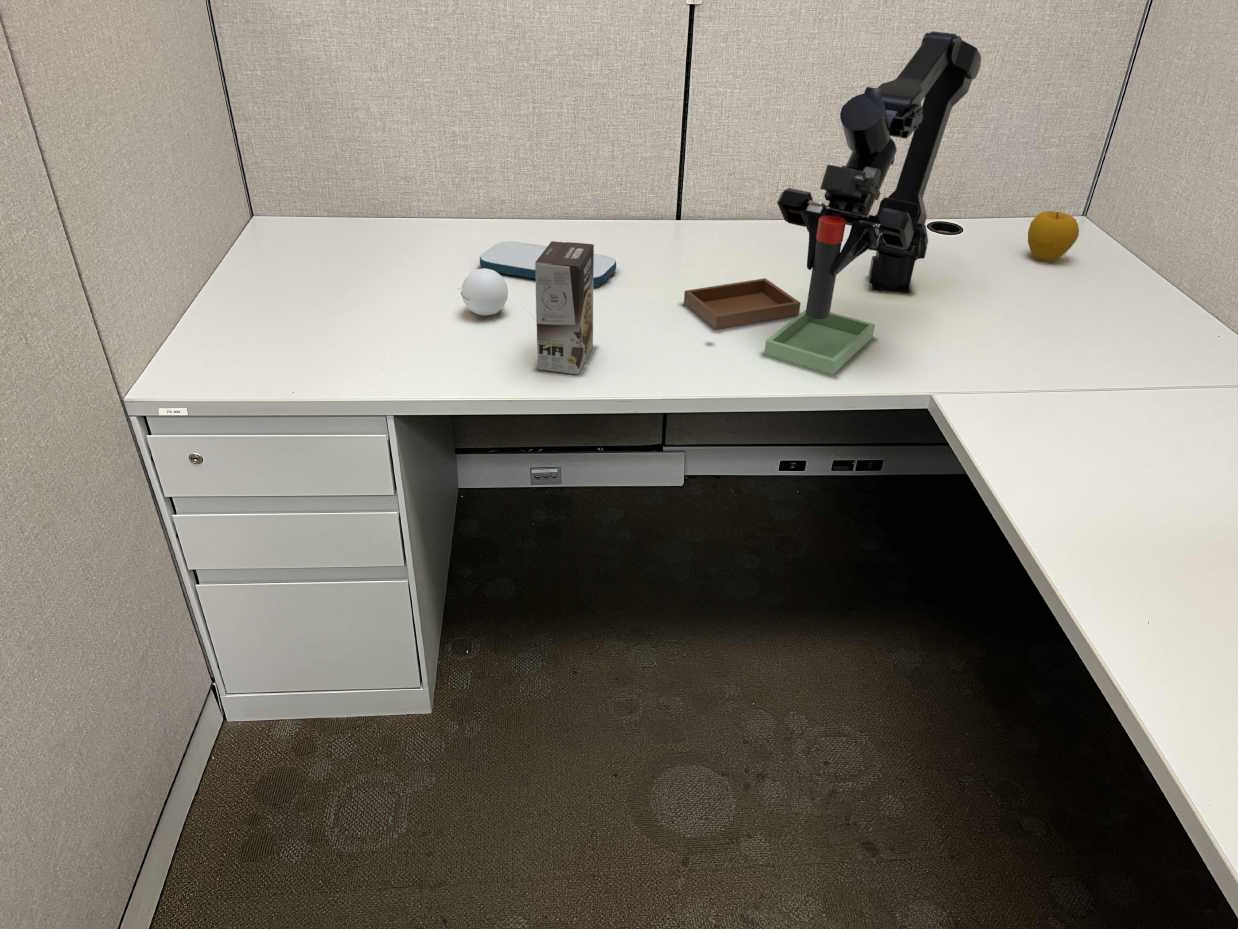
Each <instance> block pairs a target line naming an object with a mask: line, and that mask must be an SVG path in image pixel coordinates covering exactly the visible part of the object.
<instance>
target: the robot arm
mask: <svg viewBox="0 0 1238 929" xmlns="http://www.w3.org/2000/svg"><path fill="white" fill-rule="evenodd" d="M981 63H982V55H981V53H980V51H979V49H978V48H977V47H976V46H974V45H972V44H970V43H968V42H967V41H964V40H963V39H962V37H961V36H960V35H957V33H954V32H953V33H951V32H943V31H942V32H941V31H935V30H934V31H933V30H932V31H930V32H925V34H924V35H923V37H922V40H921V43H920V46H919V48H918V49H917V50H916V51H915V53H914V55H912V57H911V58H910V60H908V62H907V63H906V64H905V66H904V67H903V69H902V70H901V71H900V73H899V74H898V76H896V78H895V79H893V80H890V81H887V82H882V83H881V84H880V85H879V86H877V87H871V86H867V87H866V88H865V90H864V93H860V94H857V95H855V96H854V97H851V98H850V99H849V100H848V101H846V103H844V104H842V107H841V109H840V114H839V115H840V116H839V117H840V123H841V126H842V130H843V133H844V138H845V140H846V145H847V148H849V150H850V151H851V153H850V155H849V157H848V160H847V162H846V164H845V165H841V166H838V165H834V164H827V165H826V168H825V170H824V175H823V178H822V181H821V184H820V190H822V191H823V190H824V191H825V193H824V195H823V196H824V200H825V201H828V204H827V205H826V204H825V203H823V202H821V201H817V200H814V199H813V196H812V193H811V191H807V190H806V191H805V190H802V189H801V190H800V189H796V188H790V187H788V188H786V189H784V190H783V191H782V192H781V193H780V196H779V197H778V199H777V203H776V204H777V206H778V208H779V210H780V213H781V215H782V218H783V220H784V222H786V223H788V224H790V225H795V226H798V227H799V226H800V227H803V228H806V231H807V232H808V247H807V258H806V259H807V260H806V268H807V270H809V271H812V268H813V261H814V255H815V248H816V242H817V239H816V237H817V230H818V224H819V218H820V217H822V216H826V215H833V216H839V217H842V218H844V219H845V220H846V225H845V226H851V227H850V230H849V234H848V237H847V238H846V240H845V242H844V244H843V246H842V247H841V250H840V254H839V256H838V258H837V260H836V262H835V264H834V267H833V269H832V276H836V277H837V275H839V274H840V273H841V272H842V271H843V270H844V269H845V268H846V267H847V266H849V265H850V264H851V263H852V262H854V260H855V259H857V258H859V257H860V256H861V255H863V254H864V253H865V252H866V251H875V255H872V256H871V259H870V265H869V269H868V276H867V279H868V283H869V284H870V286H871V290H872V291H874V292H875V291H876V292H887V293H897V294H898V293H899V294H900V293H901V294H911V292H912V289H911V282H912V277H913V272H914V268H915V263H916V261H917V260H920V259H925V258H926V255H927V251H928V250H927V249H928V244H929V236H928V231H927V225H926V222H927V218H928V215H927V211H926V210H927V209H926V207H925V202H924V195H925V192H926V189H927V186H928V182H929V180H930V176H931V173H932V171H933V167H934V165H935V161H936V158H937V155H938V152H939V149H940V145H941V142H942V139H943V138H944V137H943V136H944V134H945V130H946V127H947V124H948V121H949V118H950V115H951V112H952V109H953V107H954V106H955V105H956V104H958V103H959V101H961V99H962V98H964V97H965V95H967V94H968V93H969V91H970V87H971V85H972V82H973V80H975V79H977V76H978V74H979V71H980V69H981ZM911 135H912V136H911ZM910 136H911V140H910V143H909V145H908V149H907V153H906V156H905V159H904V162H903V165H902V169H901V172H900V175H899V178H898V181H897V184H896V187H895V189H894V190H893V192H891V194H889V195H888V196H887V197H886V196H884V197H883V198H882V200H881V201H880V202H879V205H878V210H877V212H876V214H873V215H872V214H870V213H871V210H872V208H873V205H874V204H875V201H878V200H879V199H880V196H881V191H880V190H881V188H882V186H883V183H884V181H885V179H886V177H887V174H888V173H889V169H890V168H891V166H892V165H894V163H895V158H896V155H897V154H896V153H897V151H898V149H897V145H896V142H895V141H894V139H893V138H892V137H894V138H899V139H908V138H909V137H910Z"/></svg>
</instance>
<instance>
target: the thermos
mask: <svg viewBox="0 0 1238 929" xmlns="http://www.w3.org/2000/svg"><path fill="white" fill-rule="evenodd" d="M846 226H847V225H846V220H845V219H844V218H842V217H839V216H833V215H826V216H822V217H820V218H819V224H818V230H817V237H816V239H817V242H816V248H815V255H814V261H813V267H812V269H811V275H810V281H809V288H808V294H807V301H806V306H805V307H806V308H805V310H806V315H807V316H809V317H811V318H814V319H825V318H828V317H829V315H830V312H831V309H832V301H833V296H834V292H835V285H836V278H837V275H836V276H832V269H833V267H834V264H835V262H836V260H837V258H838V256H839V254H840V252H841V250H842V243H843V241H844V237H845V230H846Z"/></svg>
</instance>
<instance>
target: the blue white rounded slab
mask: <svg viewBox="0 0 1238 929" xmlns="http://www.w3.org/2000/svg"><path fill="white" fill-rule="evenodd" d="M547 246H548V245H541V244H534V243H526V242H522V241H521V242H520V241H501V242H498V243H496V244H494V245H492V247H490V248H488V249H487V250H486V251H484V252H483V253H482V254H480V256H479V266H480V267H481V269H482V268H486V269H490V270H494V271H496V272H497V273H498V274H505V275H511V276H519V277H524V278H530V279H534V280H536V276H535V262H536V261H537V259H538V258H539V257H540V256H541V254H542V253H543V252H544V250H545V249H546V248H547ZM616 270H617V261H616V259H615V258H613V257H611V256H607V255H603V254H597V253H594V267H593V287H598V286H600V285H601V286H602V285H603V284H604V283H605V282H606V281H607V280H608V279H609V278H610V277H611V276H612V275H613V274H614V273H615V272H616Z"/></svg>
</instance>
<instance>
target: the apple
mask: <svg viewBox="0 0 1238 929" xmlns="http://www.w3.org/2000/svg"><path fill="white" fill-rule="evenodd" d="M1079 234H1080V228H1079V223H1078V221H1077V219H1076V218H1075V217H1074V216H1072V215H1071V214H1067V213H1065V212H1062V211H1061V212H1060V211H1054V210H1044V211H1042V212H1040V213H1038V214H1037V215H1036V216H1035V217H1033V219H1032V220H1031V222H1030V224H1029V227H1028V231H1027V243H1028V247H1029V251H1030V254H1031V255H1032V257H1033V258H1034V259H1036V260H1039V261H1042V262H1047V263H1051V262H1055V261H1057V260H1059V259H1060V258H1062V257H1063V256H1064V255H1065V254H1066V253H1067V252H1068V251H1069V250H1070V249H1071V248H1072V247H1073V246H1074V244H1075V243H1076V241H1077V240H1078V237H1079Z"/></svg>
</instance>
